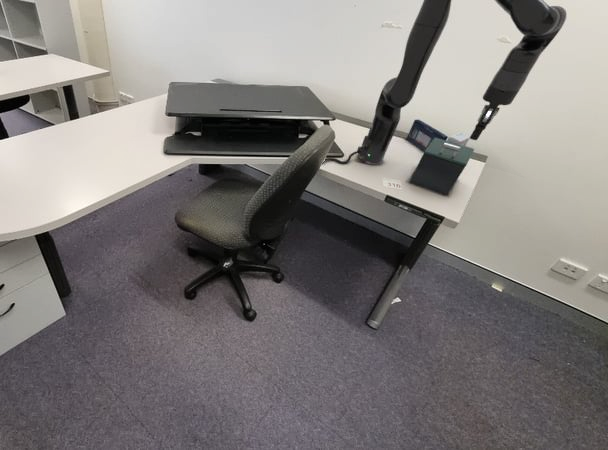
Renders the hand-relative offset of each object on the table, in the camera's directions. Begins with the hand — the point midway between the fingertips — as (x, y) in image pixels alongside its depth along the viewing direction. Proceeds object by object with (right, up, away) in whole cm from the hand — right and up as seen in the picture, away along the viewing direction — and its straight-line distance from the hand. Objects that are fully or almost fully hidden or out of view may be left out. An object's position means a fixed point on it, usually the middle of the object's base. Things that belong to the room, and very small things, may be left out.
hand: (473, 138), depth 110 cm
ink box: (+15, -1, +33) cm, 36 cm away
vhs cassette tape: (+10, +7, +42) cm, 44 cm away
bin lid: (+1, -2, +12) cm, 12 cm away
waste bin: (+1, -11, +21) cm, 24 cm away
